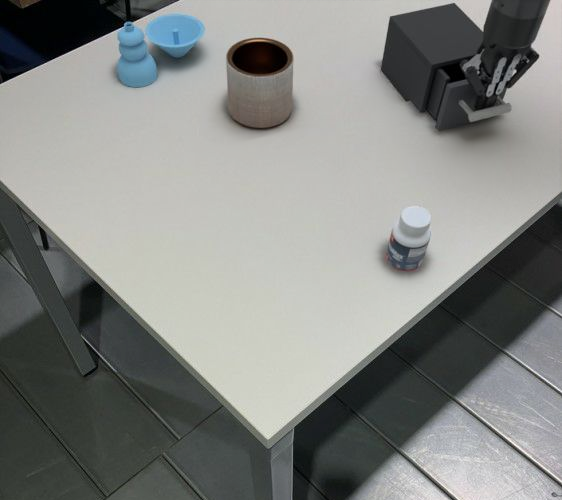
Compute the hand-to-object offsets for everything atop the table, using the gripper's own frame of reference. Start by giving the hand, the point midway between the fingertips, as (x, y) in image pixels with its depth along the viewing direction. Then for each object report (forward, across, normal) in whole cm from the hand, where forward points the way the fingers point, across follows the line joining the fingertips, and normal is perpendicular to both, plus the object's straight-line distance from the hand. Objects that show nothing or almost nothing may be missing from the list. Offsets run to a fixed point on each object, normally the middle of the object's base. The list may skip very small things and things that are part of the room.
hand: (482, 112), depth 100 cm
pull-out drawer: (+4, 0, +7) cm, 8 cm away
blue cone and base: (+5, -43, +37) cm, 57 cm away
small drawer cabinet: (+4, 0, +15) cm, 15 cm away
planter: (+5, -31, +18) cm, 37 cm away
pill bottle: (+5, -24, -20) cm, 32 cm away
